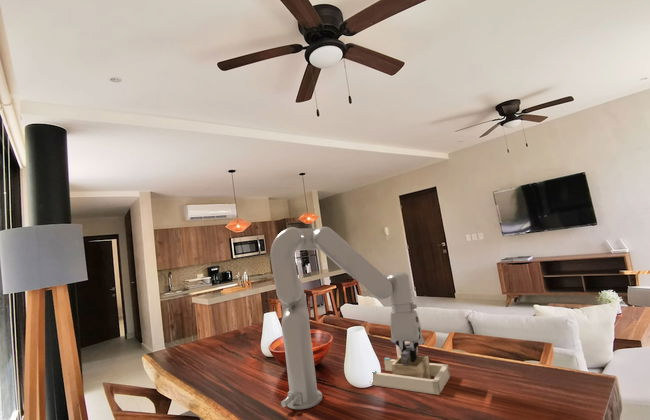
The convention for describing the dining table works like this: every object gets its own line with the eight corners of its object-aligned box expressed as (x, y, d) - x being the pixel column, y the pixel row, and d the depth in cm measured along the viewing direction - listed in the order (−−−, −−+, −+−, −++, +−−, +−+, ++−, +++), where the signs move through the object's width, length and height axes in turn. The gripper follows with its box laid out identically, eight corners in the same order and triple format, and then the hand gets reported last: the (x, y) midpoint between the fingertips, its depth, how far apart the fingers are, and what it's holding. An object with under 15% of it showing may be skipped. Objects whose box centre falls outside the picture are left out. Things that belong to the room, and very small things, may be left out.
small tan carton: (422, 389, 109) (417, 355, 110) (394, 385, 115) (389, 353, 116) (431, 376, 118) (426, 345, 119) (404, 373, 123) (400, 343, 124)
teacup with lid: (417, 368, 129) (413, 337, 130) (395, 366, 133) (391, 337, 134) (424, 357, 139) (420, 328, 140) (403, 355, 144) (399, 328, 145)
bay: (439, 399, 103) (436, 381, 104) (370, 388, 116) (368, 373, 117) (451, 378, 117) (448, 362, 117) (388, 370, 130) (386, 356, 130)
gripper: (427, 305, 117) (435, 358, 116) (386, 305, 126) (393, 354, 124) (420, 310, 111) (429, 367, 109) (377, 310, 120) (385, 362, 118)
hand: (410, 360), depth 117 cm, fingers closed on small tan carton, 2 cm apart
